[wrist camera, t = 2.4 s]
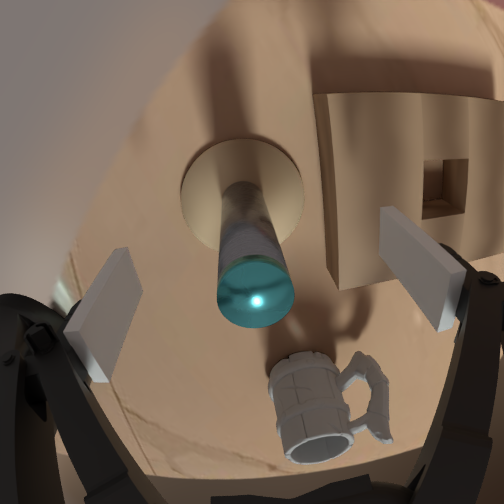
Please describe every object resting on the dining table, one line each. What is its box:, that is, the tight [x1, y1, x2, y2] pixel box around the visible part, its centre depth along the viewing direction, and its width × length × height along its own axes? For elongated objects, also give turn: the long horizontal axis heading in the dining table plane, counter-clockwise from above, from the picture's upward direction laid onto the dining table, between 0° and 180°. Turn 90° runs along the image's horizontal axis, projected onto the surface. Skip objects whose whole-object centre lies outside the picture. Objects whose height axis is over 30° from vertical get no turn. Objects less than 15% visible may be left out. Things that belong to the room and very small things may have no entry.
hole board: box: [313, 92, 504, 291], centre depth 22 cm, size 18×14×4 cm
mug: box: [268, 351, 393, 465], centre depth 27 cm, size 8×12×12 cm, turn 124°
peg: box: [217, 181, 294, 328], centre depth 18 cm, size 3×3×12 cm
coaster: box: [181, 139, 304, 252], centre depth 23 cm, size 9×9×1 cm
